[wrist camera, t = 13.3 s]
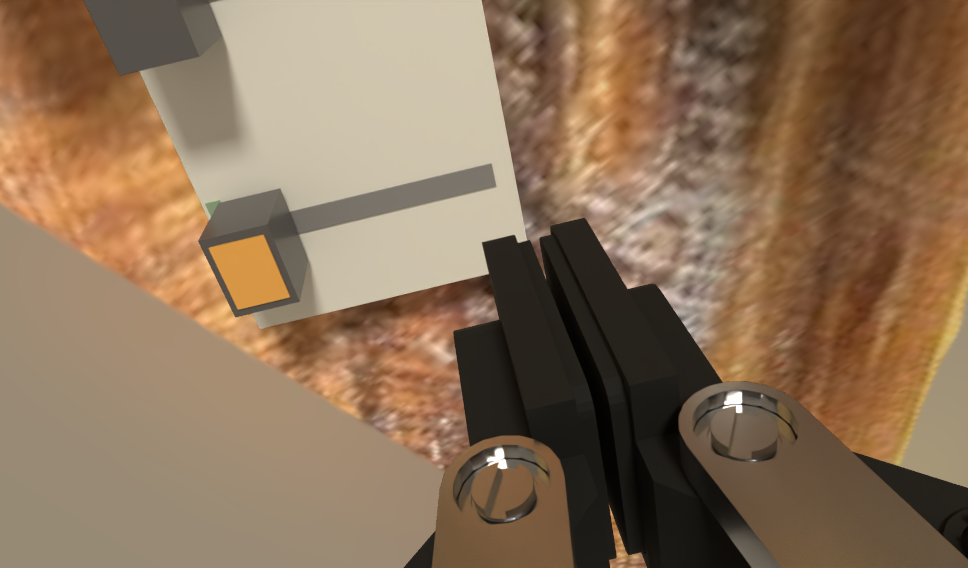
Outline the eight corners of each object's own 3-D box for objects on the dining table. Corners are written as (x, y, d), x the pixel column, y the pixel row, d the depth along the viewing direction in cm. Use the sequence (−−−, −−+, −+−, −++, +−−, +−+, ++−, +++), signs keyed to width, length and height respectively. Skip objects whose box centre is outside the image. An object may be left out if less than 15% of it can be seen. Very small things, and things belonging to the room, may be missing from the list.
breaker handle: (180, -70, 26) (149, -64, 22) (222, 36, 28) (199, 56, 24) (105, -52, 26) (62, -43, 22) (152, 52, 28) (119, 75, 24)
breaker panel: (430, -233, 27) (435, -246, 24) (521, 238, 38) (531, 264, 36) (68, -147, 27) (33, -151, 24) (268, 299, 38) (259, 329, 36)
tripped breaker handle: (280, 188, 31) (267, 225, 28) (308, 260, 34) (299, 303, 30) (218, 203, 31) (197, 242, 28) (250, 273, 34) (235, 318, 30)
